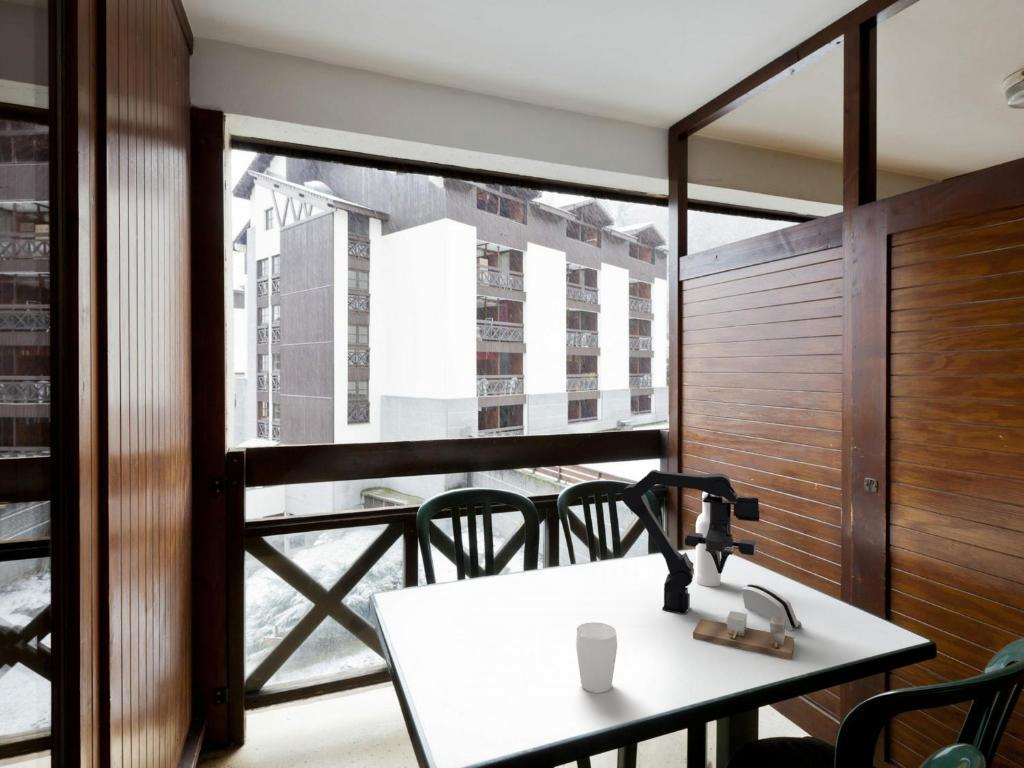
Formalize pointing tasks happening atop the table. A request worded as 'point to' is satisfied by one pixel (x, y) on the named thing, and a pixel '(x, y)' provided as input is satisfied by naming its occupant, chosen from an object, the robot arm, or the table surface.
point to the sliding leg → (736, 623)
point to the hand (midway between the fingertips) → (720, 573)
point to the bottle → (705, 552)
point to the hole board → (749, 637)
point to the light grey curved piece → (769, 604)
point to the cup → (596, 655)
